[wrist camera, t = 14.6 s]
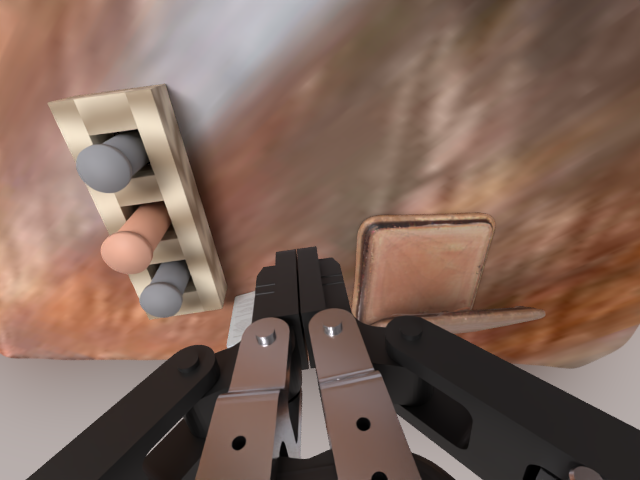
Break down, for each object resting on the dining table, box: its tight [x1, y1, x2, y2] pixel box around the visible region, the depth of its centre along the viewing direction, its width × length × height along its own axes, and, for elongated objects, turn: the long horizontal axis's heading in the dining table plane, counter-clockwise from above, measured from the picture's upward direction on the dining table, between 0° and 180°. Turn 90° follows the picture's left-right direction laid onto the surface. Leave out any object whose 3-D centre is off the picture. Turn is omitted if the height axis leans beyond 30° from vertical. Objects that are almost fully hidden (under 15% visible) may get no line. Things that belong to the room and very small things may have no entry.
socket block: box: [48, 84, 227, 320], centre depth 43 cm, size 28×10×5 cm, turn 7°
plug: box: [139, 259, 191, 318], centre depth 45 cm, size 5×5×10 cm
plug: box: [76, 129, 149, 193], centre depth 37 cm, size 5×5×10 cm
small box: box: [227, 291, 255, 348], centre depth 50 cm, size 8×6×10 cm
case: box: [352, 213, 545, 334], centre depth 48 cm, size 20×21×16 cm
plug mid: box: [101, 201, 172, 274], centre depth 39 cm, size 5×5×10 cm
